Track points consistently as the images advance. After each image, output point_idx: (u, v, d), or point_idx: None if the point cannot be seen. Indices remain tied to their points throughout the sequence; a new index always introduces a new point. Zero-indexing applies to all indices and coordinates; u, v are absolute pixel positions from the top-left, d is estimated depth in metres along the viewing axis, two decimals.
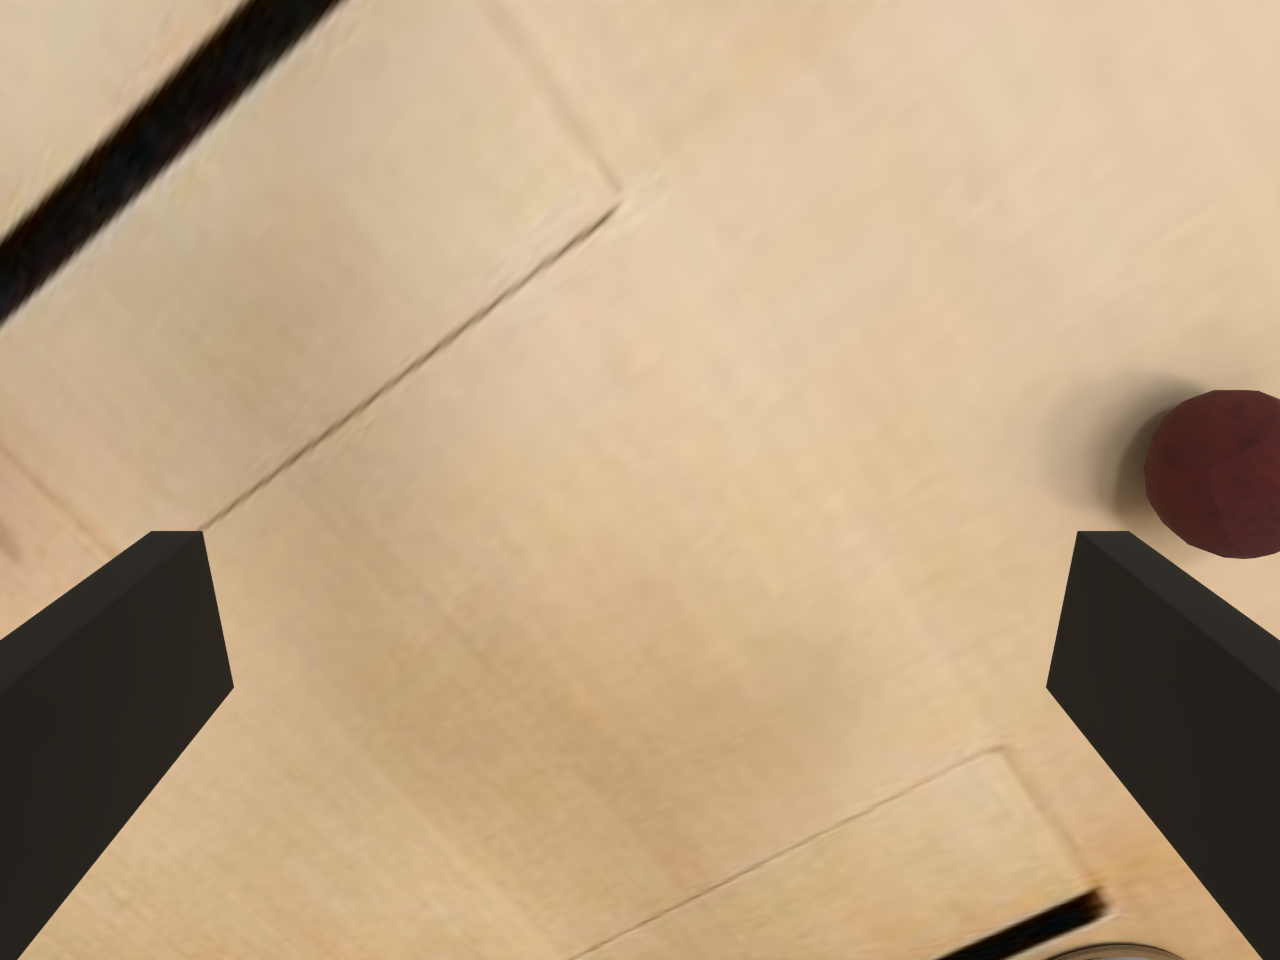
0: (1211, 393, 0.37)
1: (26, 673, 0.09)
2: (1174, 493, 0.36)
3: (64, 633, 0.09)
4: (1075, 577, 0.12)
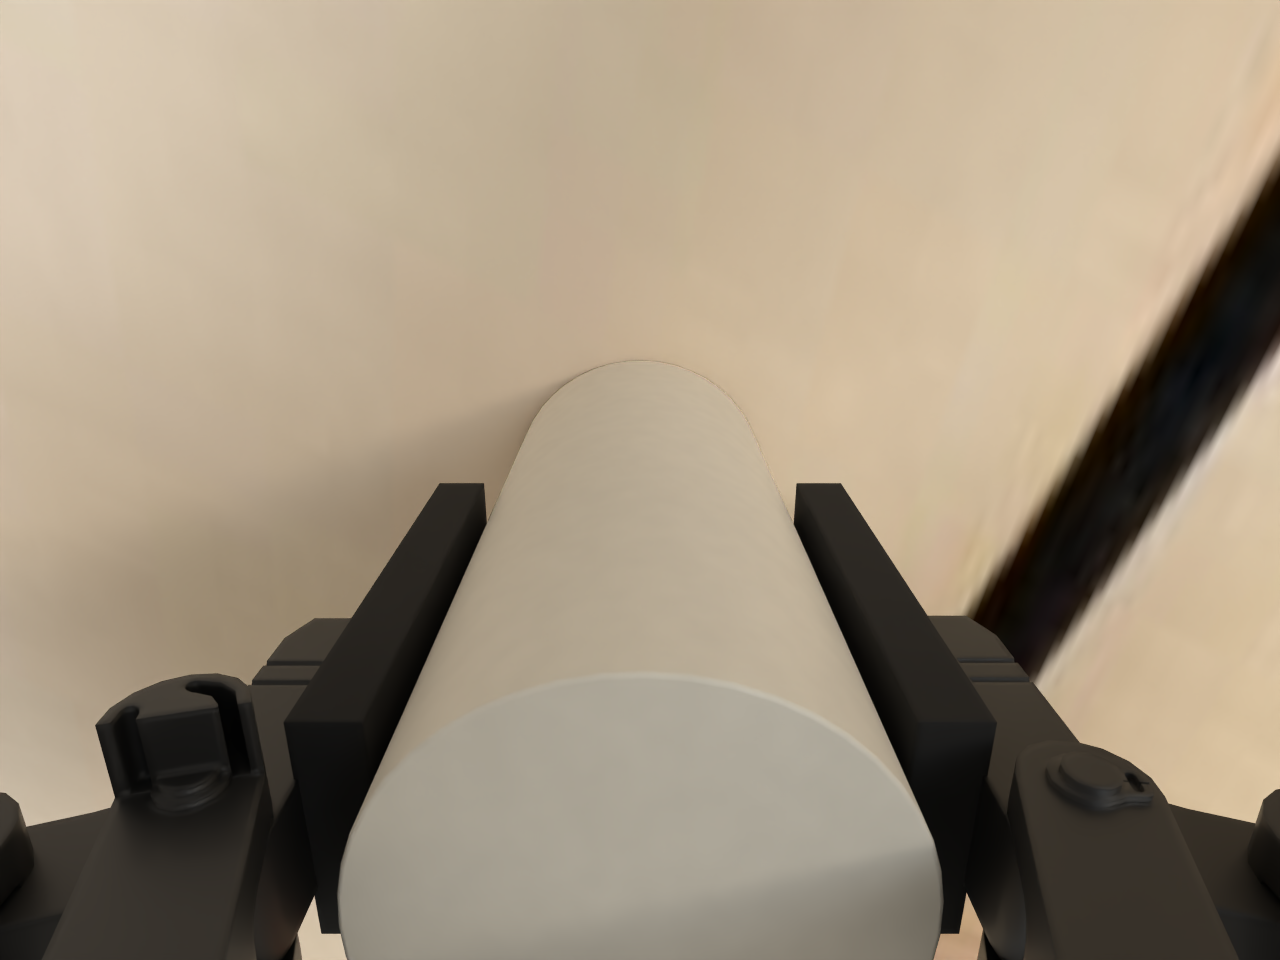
0: None
1: (432, 584, 0.10)
2: None
3: (436, 557, 0.11)
4: (796, 523, 0.14)
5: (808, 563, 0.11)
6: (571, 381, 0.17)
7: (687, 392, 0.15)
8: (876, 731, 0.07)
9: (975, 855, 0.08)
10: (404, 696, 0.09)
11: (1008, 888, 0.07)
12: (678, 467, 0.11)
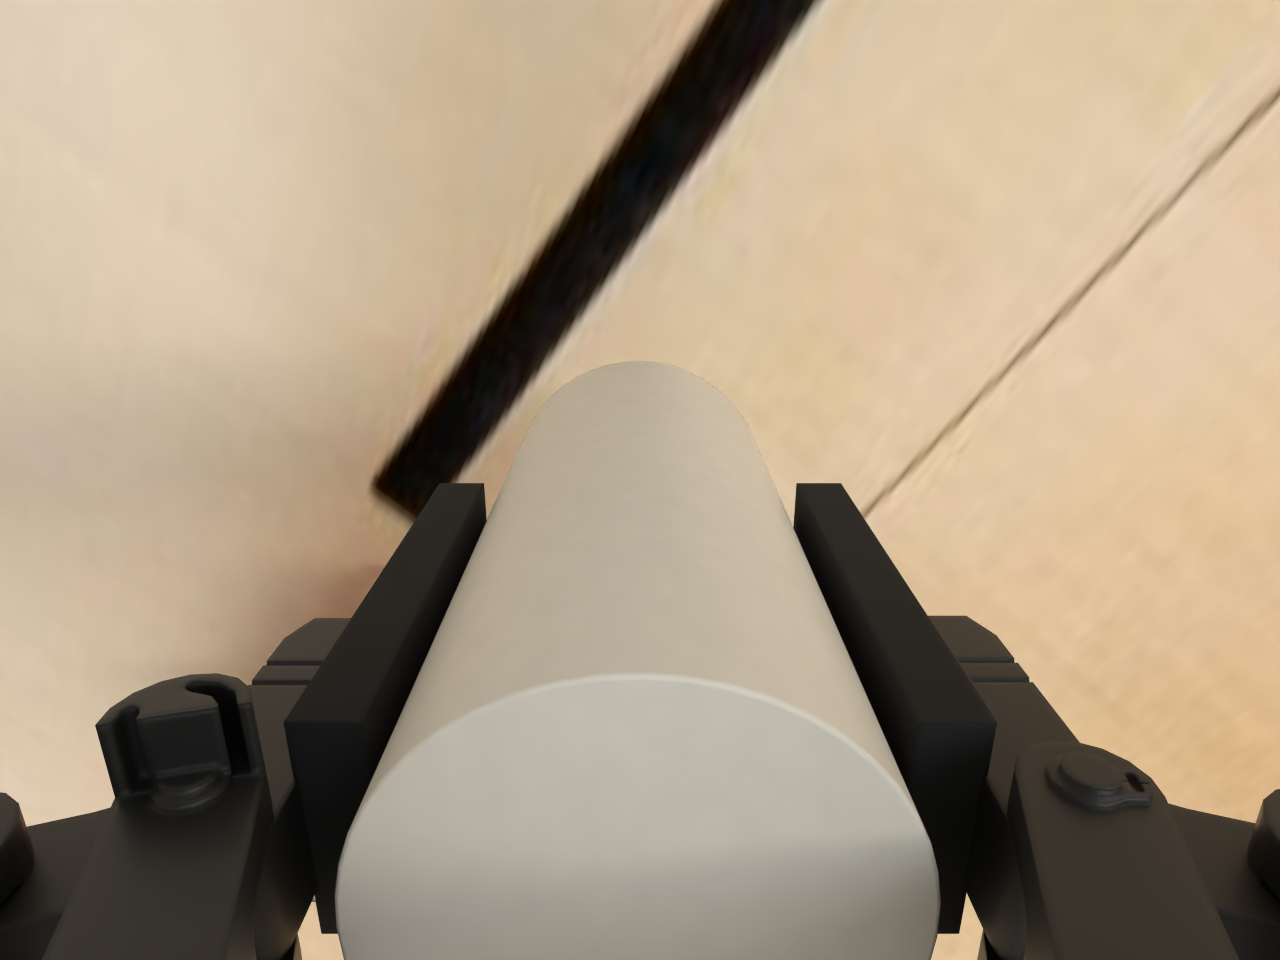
0: None
1: (432, 584, 0.10)
2: None
3: (436, 557, 0.11)
4: (796, 523, 0.14)
5: (806, 564, 0.11)
6: (570, 382, 0.17)
7: (686, 393, 0.15)
8: (873, 732, 0.07)
9: (975, 855, 0.08)
10: (404, 696, 0.09)
11: (1008, 888, 0.07)
12: (676, 468, 0.11)
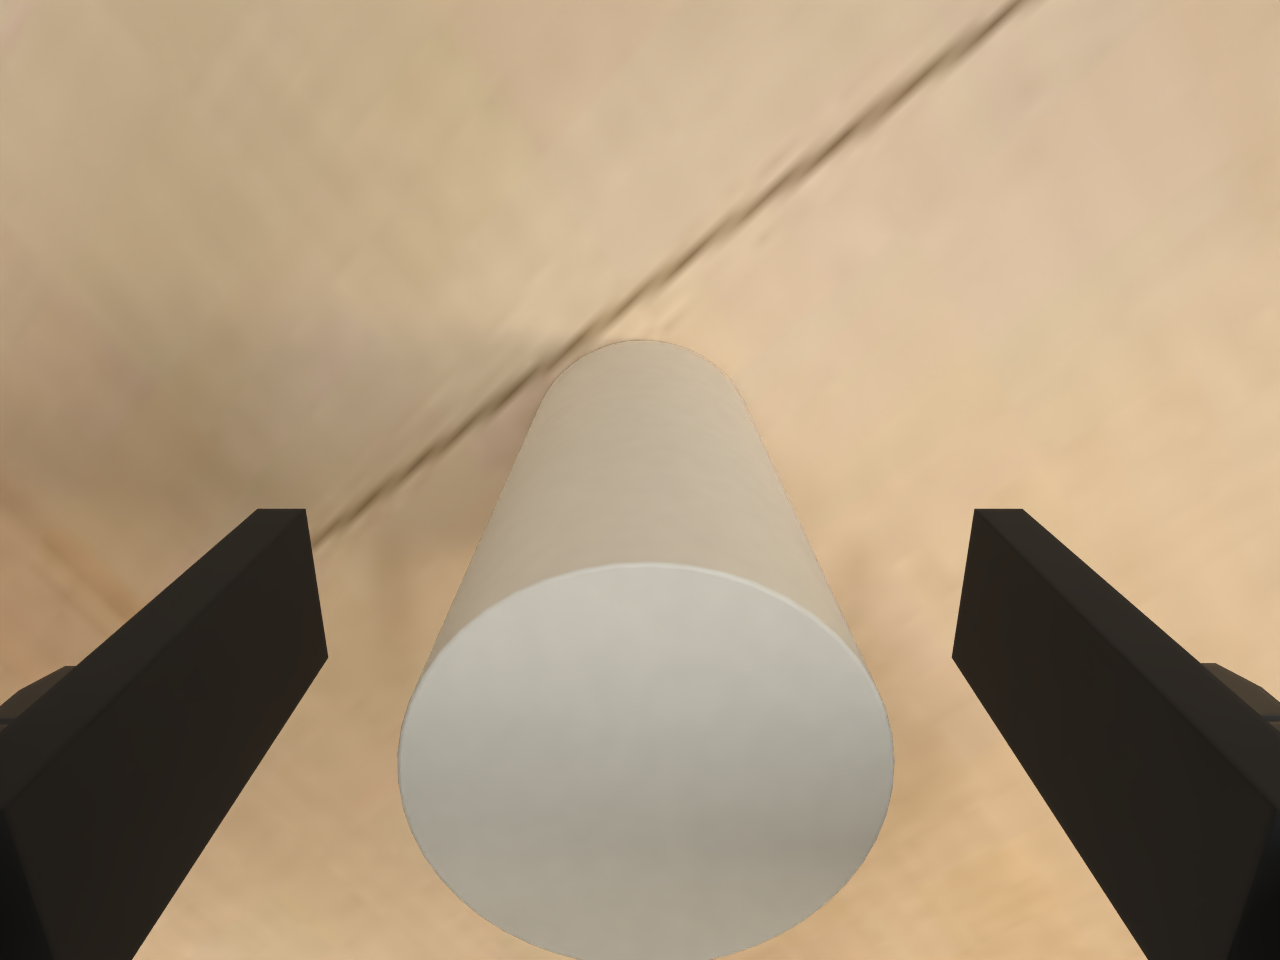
0: None
1: (182, 630, 0.09)
2: None
3: (205, 597, 0.10)
4: (973, 552, 0.13)
5: (790, 506, 0.12)
6: (579, 359, 0.19)
7: (685, 367, 0.17)
8: (839, 621, 0.09)
9: None
10: (112, 764, 0.08)
11: None
12: (677, 424, 0.12)
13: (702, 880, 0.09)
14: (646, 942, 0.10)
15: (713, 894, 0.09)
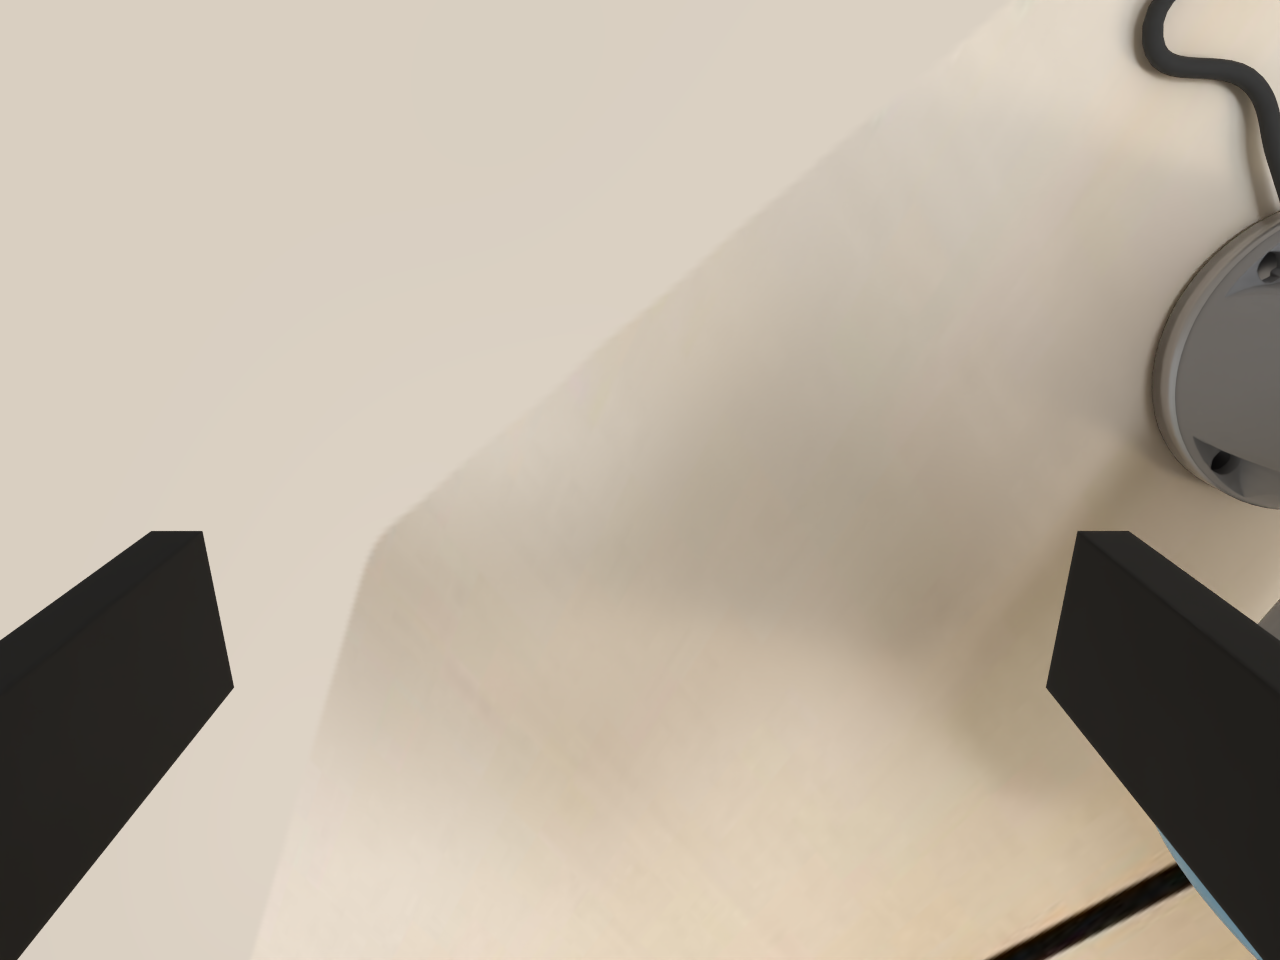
0: None
1: (26, 673, 0.09)
2: None
3: (65, 633, 0.09)
4: (1075, 577, 0.12)
5: None
6: None
7: None
8: None
9: None
10: None
11: None
12: None
13: None
14: None
15: None
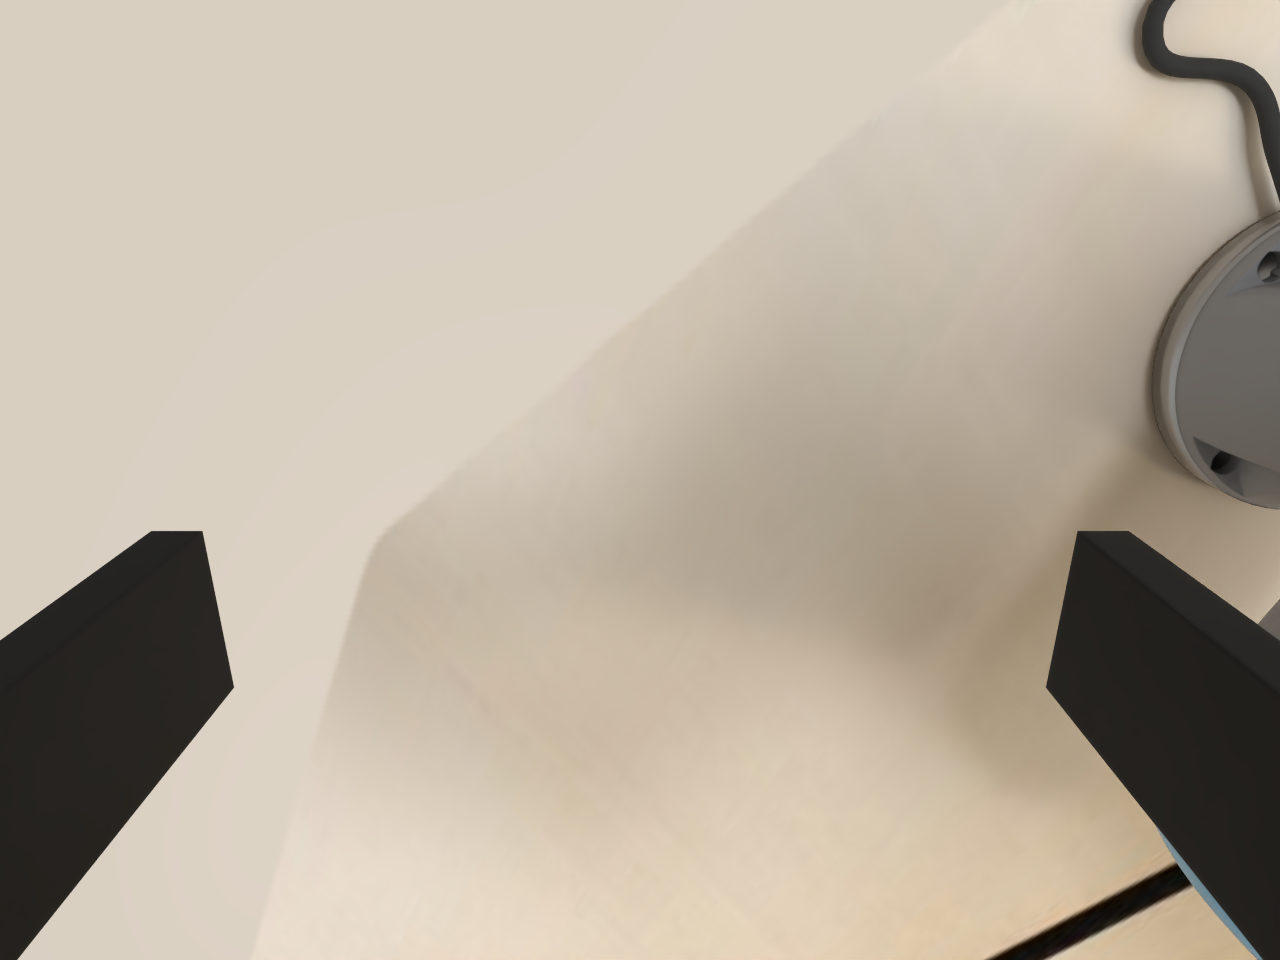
0: None
1: (26, 673, 0.09)
2: None
3: (65, 633, 0.09)
4: (1075, 577, 0.12)
5: None
6: None
7: None
8: None
9: None
10: None
11: None
12: None
13: None
14: None
15: None
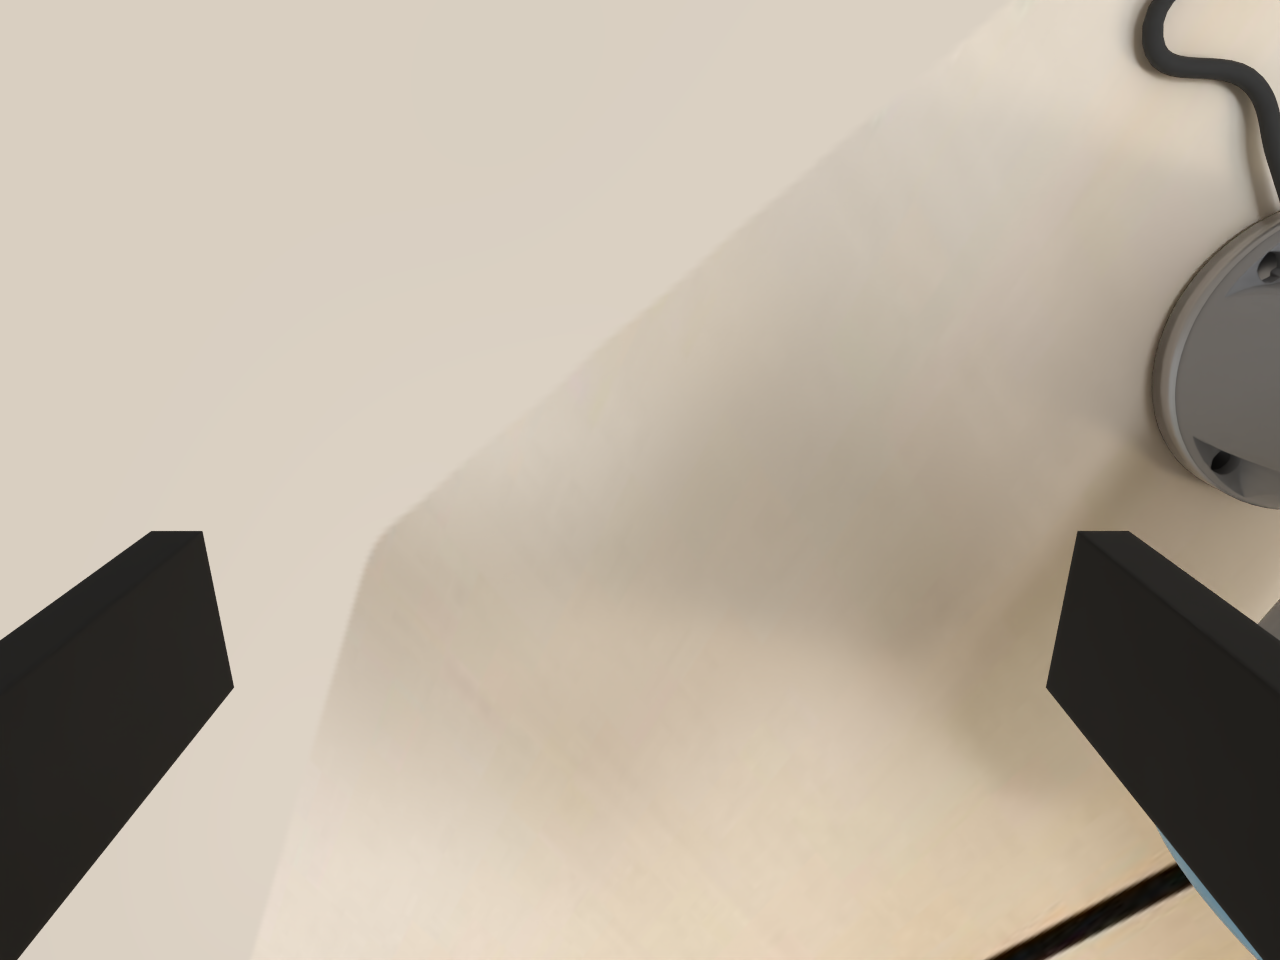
0: None
1: (26, 673, 0.09)
2: None
3: (65, 633, 0.09)
4: (1075, 577, 0.12)
5: None
6: None
7: None
8: None
9: None
10: None
11: None
12: None
13: None
14: None
15: None
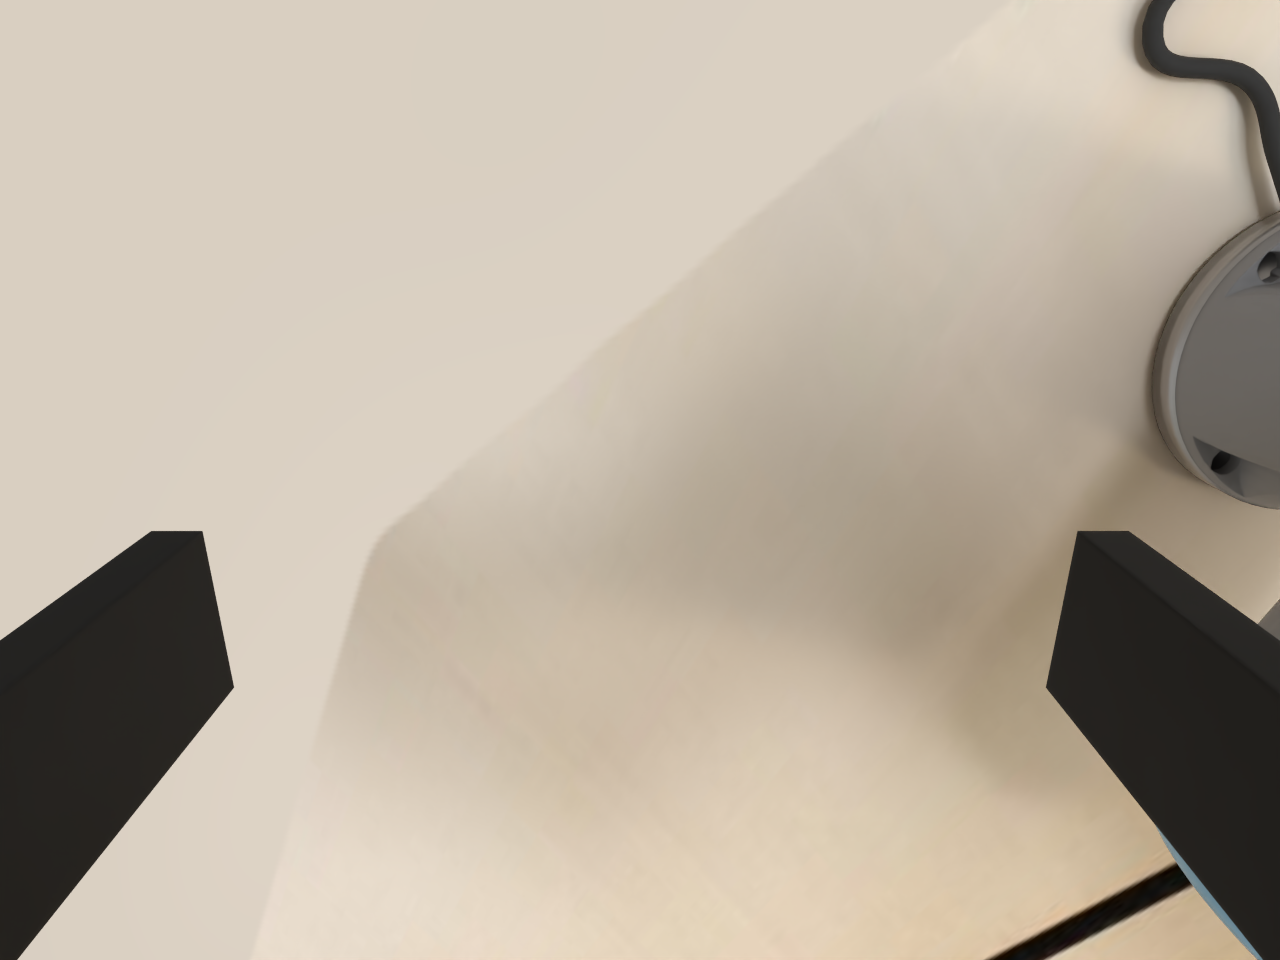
0: None
1: (26, 673, 0.09)
2: None
3: (65, 633, 0.09)
4: (1075, 577, 0.12)
5: None
6: None
7: None
8: None
9: None
10: None
11: None
12: None
13: None
14: None
15: None
